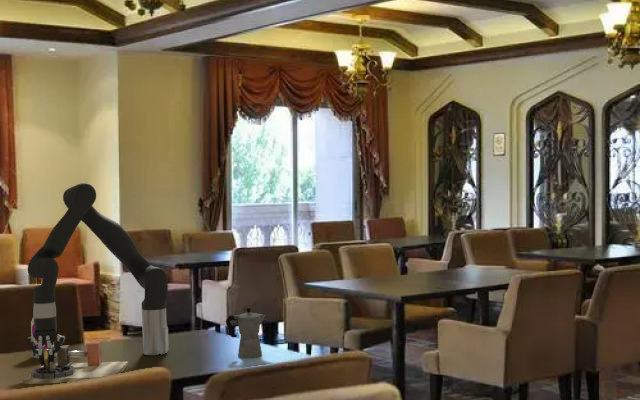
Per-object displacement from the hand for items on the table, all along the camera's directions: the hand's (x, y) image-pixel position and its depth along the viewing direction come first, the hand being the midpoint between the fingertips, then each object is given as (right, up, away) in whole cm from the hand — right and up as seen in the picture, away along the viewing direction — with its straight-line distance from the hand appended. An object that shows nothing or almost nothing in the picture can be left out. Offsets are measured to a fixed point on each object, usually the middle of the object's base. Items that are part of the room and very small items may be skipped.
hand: (46, 365), depth 308 cm
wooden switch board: (+11, -3, 0) cm, 11 cm away
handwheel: (+4, -2, -5) cm, 6 cm away
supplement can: (-11, -3, +33) cm, 35 cm away
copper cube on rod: (+8, -1, +8) cm, 11 cm away
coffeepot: (+68, -1, +23) cm, 71 cm away
